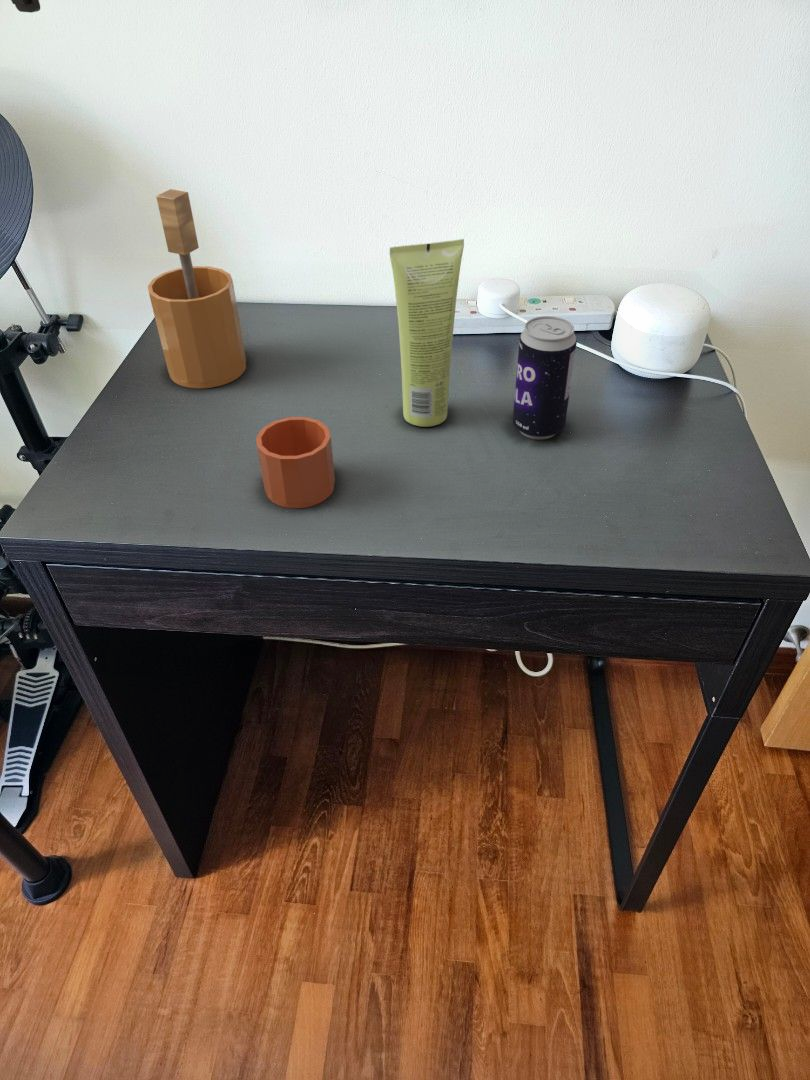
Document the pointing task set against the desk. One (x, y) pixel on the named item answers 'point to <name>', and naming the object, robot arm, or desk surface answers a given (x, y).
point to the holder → (296, 462)
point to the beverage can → (544, 376)
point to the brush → (180, 232)
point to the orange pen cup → (199, 327)
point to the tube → (426, 325)
